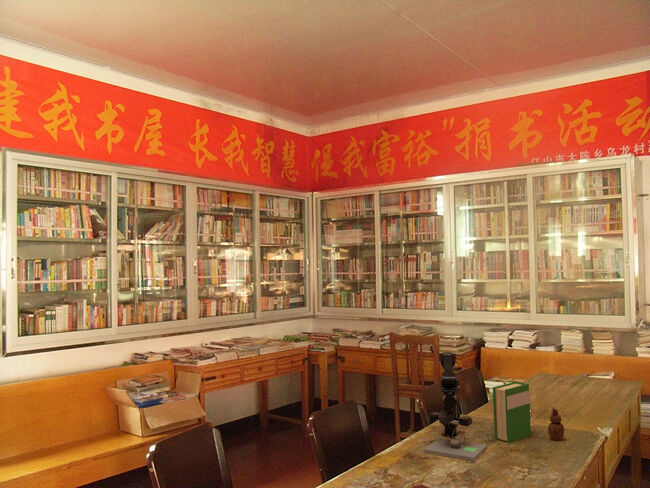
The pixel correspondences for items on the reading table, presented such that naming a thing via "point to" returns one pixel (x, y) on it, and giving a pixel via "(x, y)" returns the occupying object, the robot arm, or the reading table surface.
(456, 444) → the lever
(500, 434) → the hardback book
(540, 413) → the reading table surface
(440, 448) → the dial plate
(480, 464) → the reading table surface
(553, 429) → the wooden figurine
